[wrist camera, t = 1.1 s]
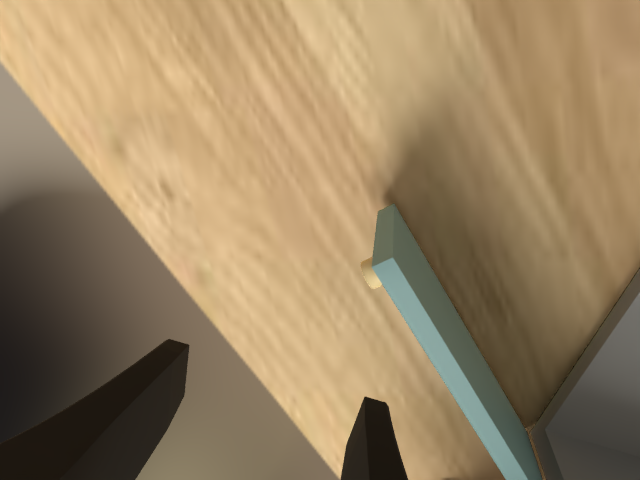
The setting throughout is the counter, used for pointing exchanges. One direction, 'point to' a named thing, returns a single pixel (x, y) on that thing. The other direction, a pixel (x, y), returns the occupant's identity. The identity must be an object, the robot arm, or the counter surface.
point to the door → (448, 344)
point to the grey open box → (598, 404)
